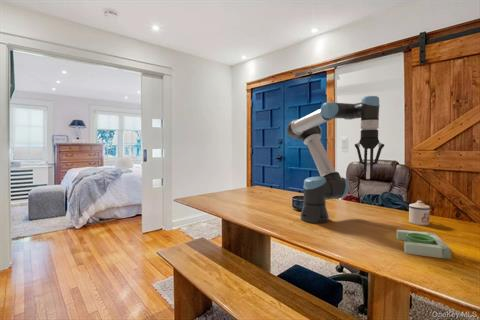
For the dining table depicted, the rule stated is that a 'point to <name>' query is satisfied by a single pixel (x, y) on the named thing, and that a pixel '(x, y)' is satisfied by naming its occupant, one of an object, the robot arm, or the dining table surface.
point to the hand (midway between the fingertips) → (367, 178)
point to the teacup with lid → (419, 213)
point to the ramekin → (420, 238)
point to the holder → (425, 246)
